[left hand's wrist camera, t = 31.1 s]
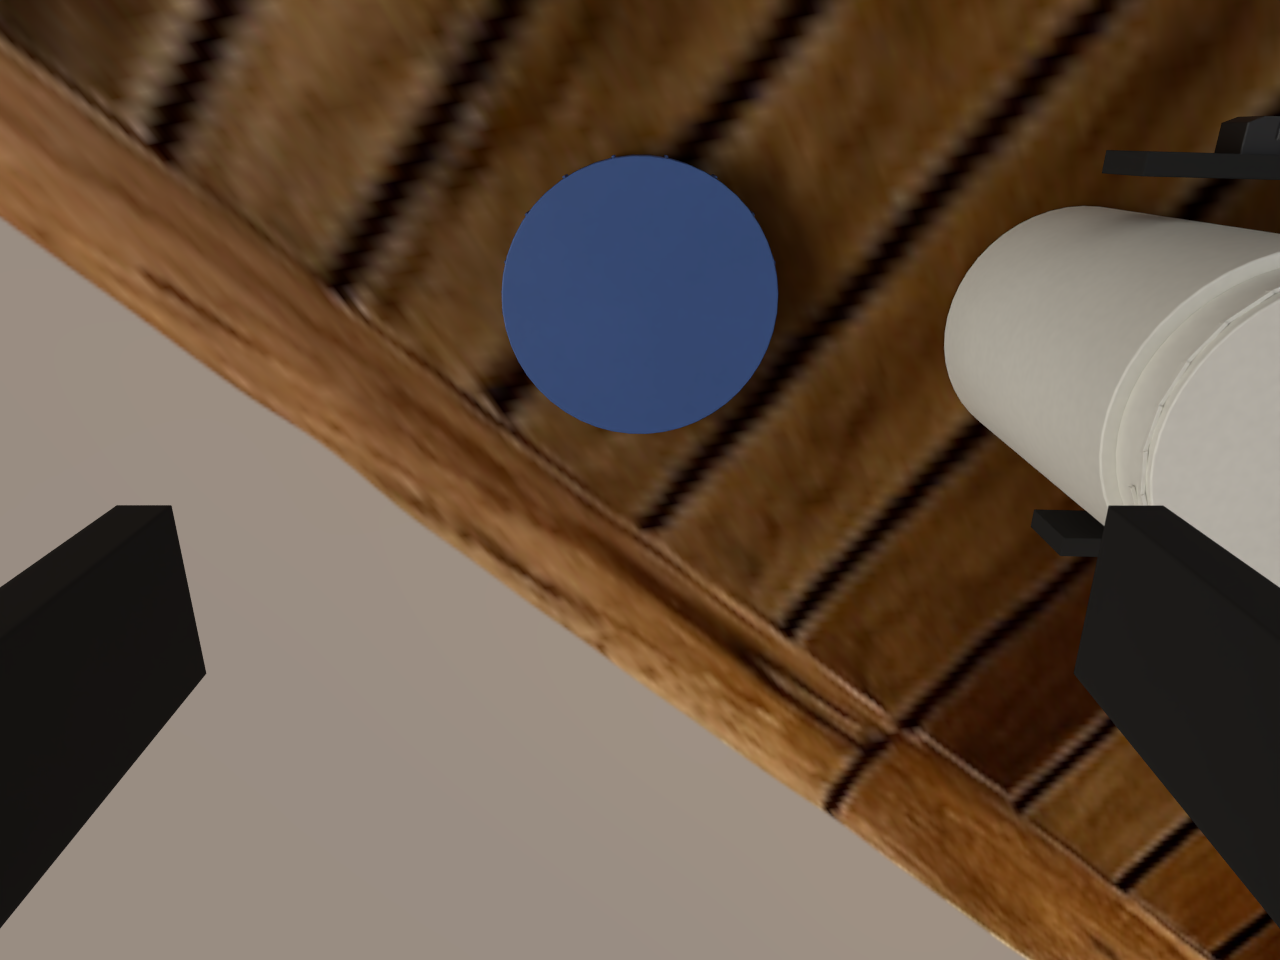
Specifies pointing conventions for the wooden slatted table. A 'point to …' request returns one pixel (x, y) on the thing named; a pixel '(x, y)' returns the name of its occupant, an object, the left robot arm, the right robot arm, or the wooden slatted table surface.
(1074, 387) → the jar
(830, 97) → the wooden slatted table surface
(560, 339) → the lid
